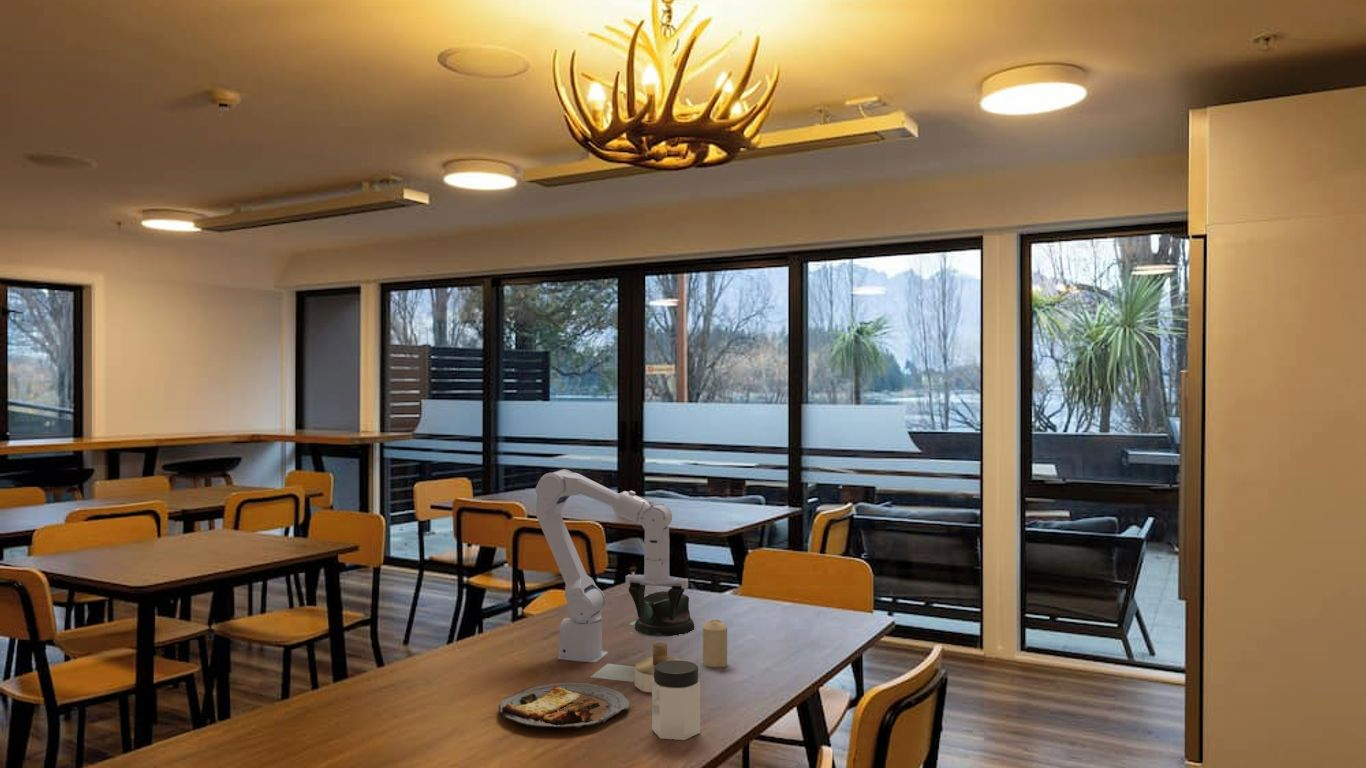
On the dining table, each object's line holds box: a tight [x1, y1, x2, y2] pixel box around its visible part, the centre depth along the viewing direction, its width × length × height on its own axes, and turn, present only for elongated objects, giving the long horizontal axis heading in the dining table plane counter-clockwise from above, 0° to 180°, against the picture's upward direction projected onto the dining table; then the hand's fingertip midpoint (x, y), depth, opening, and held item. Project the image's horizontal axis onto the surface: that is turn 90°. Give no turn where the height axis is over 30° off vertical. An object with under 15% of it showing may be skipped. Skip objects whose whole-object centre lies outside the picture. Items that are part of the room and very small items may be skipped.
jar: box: [651, 659, 701, 741], centre depth 170 cm, size 9×8×12 cm
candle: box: [702, 619, 728, 668], centre depth 210 cm, size 6×6×10 cm
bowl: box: [634, 669, 654, 693], centre depth 195 cm, size 10×10×4 cm
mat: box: [590, 663, 635, 683], centre depth 203 cm, size 10×10×1 cm
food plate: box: [498, 682, 630, 730], centre depth 180 cm, size 25×23×4 cm
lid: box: [634, 642, 683, 675], centre depth 195 cm, size 10×10×5 cm
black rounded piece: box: [627, 590, 695, 637], centre depth 242 cm, size 20×20×9 cm
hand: (656, 617), depth 211 cm, fingers open, 7 cm apart
